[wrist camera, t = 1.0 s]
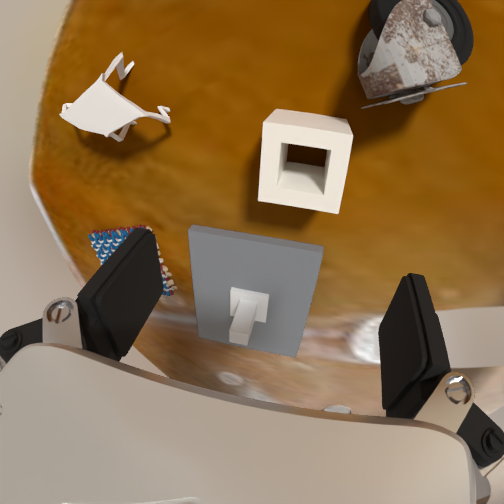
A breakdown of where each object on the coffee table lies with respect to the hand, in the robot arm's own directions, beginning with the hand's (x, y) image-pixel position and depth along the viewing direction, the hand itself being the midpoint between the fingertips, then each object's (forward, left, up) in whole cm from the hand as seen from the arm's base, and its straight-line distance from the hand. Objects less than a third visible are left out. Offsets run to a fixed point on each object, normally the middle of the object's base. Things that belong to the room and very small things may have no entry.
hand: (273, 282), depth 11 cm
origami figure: (+18, -4, -18) cm, 26 cm away
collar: (0, 0, -18) cm, 18 cm away
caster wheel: (-7, -11, -18) cm, 23 cm away
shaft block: (+4, +19, -18) cm, 26 cm away
